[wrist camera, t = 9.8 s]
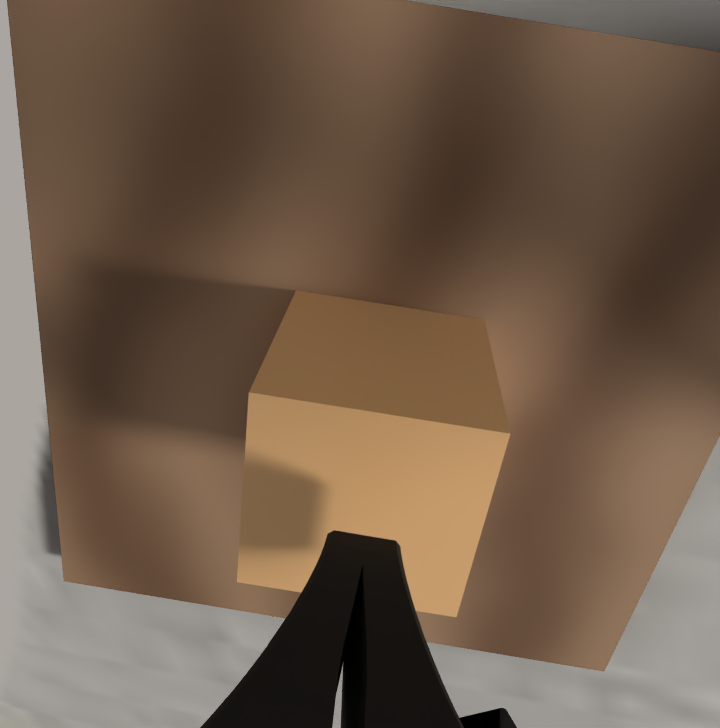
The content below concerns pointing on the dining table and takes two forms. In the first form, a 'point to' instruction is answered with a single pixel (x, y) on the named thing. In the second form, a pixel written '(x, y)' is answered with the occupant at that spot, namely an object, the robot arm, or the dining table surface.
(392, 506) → the tan wooden cube
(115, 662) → the dining table surface
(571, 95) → the base board
